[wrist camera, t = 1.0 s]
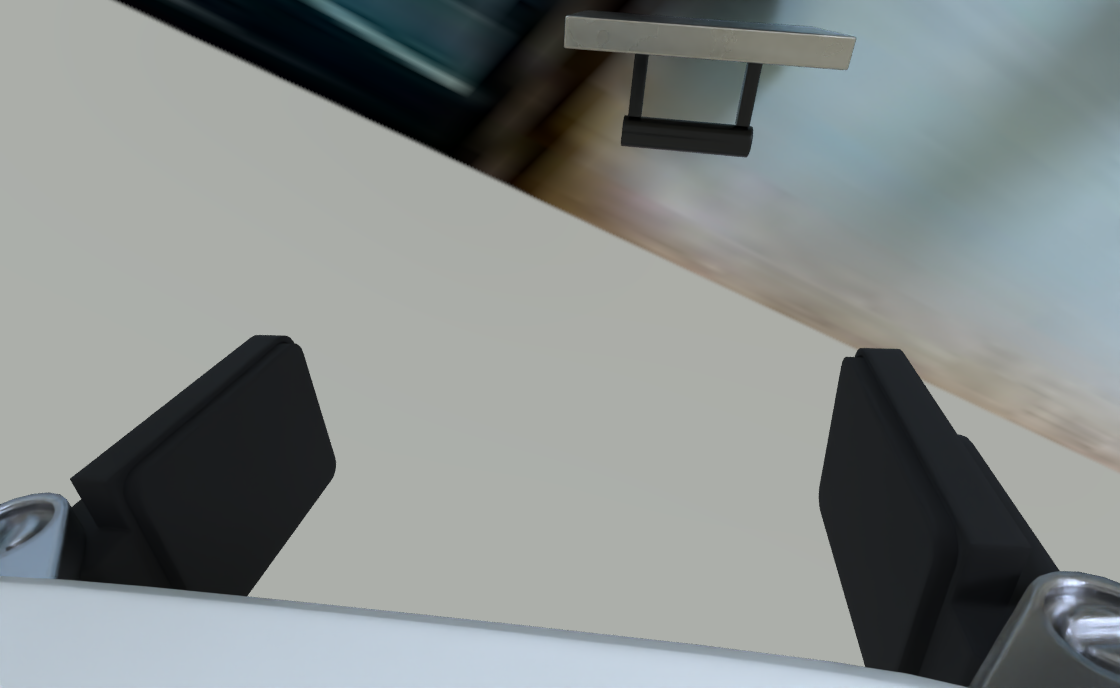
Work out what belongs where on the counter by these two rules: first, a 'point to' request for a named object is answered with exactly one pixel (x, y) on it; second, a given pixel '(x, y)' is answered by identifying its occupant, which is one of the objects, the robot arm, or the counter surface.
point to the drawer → (702, 43)
